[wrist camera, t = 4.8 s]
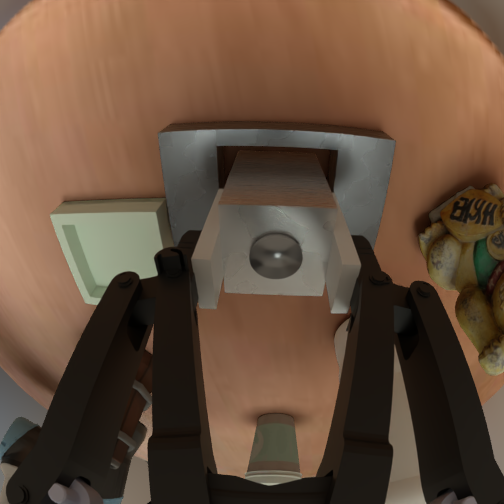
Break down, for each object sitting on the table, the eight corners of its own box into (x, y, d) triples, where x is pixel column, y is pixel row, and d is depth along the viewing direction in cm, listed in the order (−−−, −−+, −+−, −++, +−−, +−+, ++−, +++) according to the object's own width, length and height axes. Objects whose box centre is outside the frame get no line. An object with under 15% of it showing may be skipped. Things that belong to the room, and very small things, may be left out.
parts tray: (94, 288, 28) (85, 303, 26) (63, 201, 22) (49, 214, 20) (183, 296, 27) (178, 314, 25) (165, 197, 21) (155, 212, 19)
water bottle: (370, 296, 26) (413, 584, 5) (410, 322, 27) (456, 555, 7) (319, 336, 29) (325, 587, 9) (362, 356, 31) (382, 568, 11)
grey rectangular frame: (184, 237, 23) (176, 256, 21) (170, 124, 18) (157, 132, 16) (362, 244, 22) (369, 262, 20) (383, 131, 17) (395, 140, 15)
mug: (163, 388, 39) (140, 480, 27) (90, 366, 38) (58, 449, 26) (161, 325, 30) (120, 457, 18) (66, 297, 29) (7, 404, 17)
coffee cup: (256, 406, 40) (251, 480, 30) (310, 412, 41) (311, 483, 31) (244, 424, 45) (238, 487, 35) (291, 430, 46) (290, 490, 36)
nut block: (240, 216, 22) (224, 296, 15) (238, 150, 19) (216, 207, 12) (309, 218, 21) (322, 300, 15) (315, 153, 19) (339, 212, 12)
